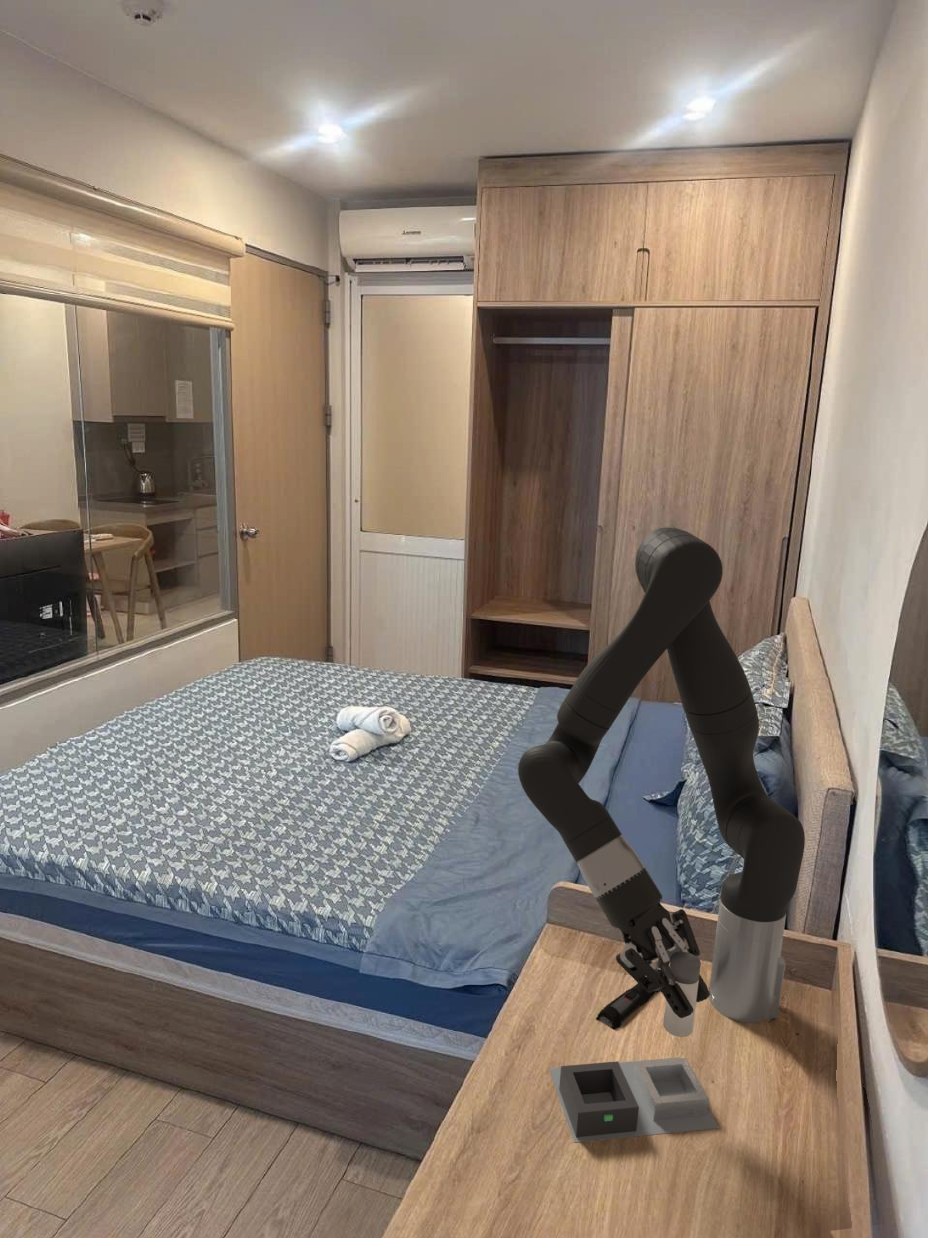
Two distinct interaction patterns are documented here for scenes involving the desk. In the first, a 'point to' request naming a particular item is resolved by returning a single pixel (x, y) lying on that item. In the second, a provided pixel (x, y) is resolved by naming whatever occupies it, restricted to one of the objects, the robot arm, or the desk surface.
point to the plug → (687, 978)
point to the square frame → (676, 1104)
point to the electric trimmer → (624, 1005)
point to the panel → (640, 1108)
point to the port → (598, 1115)
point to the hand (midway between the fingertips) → (695, 1006)
